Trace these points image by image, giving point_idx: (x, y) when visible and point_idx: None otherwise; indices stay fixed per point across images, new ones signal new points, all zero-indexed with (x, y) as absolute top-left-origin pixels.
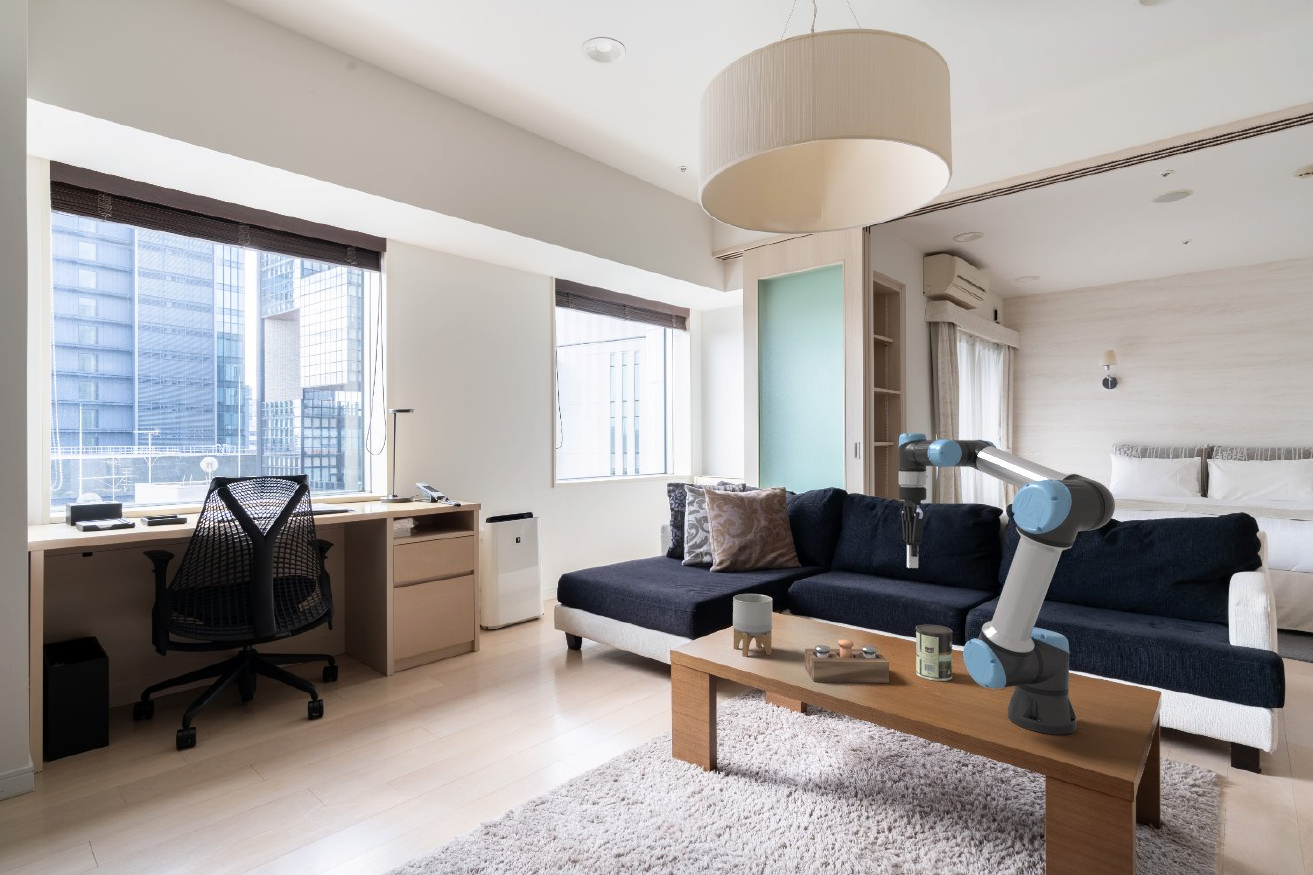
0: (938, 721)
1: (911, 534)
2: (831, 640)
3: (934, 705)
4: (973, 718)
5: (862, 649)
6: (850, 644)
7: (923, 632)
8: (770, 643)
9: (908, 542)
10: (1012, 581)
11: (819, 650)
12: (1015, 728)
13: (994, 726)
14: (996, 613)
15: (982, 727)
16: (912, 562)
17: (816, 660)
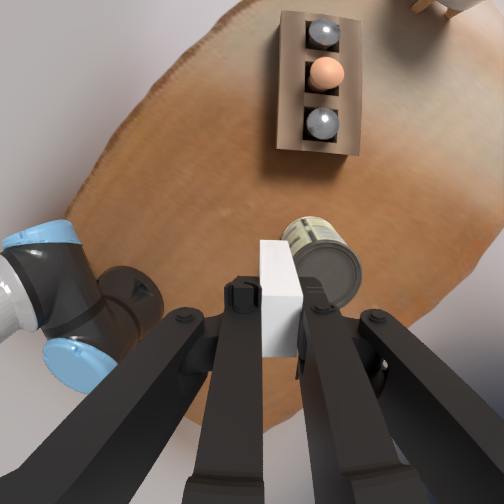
0: (116, 167)
1: (215, 361)
2: (485, 149)
3: (171, 184)
4: (129, 221)
5: (320, 108)
6: (311, 76)
7: (306, 245)
8: (421, 4)
9: (302, 316)
10: None
11: (312, 22)
12: (106, 259)
13: (108, 236)
14: None
15: (103, 219)
16: (259, 268)
17: (285, 15)
